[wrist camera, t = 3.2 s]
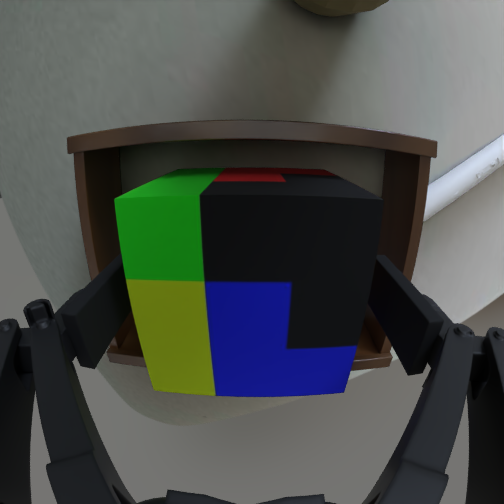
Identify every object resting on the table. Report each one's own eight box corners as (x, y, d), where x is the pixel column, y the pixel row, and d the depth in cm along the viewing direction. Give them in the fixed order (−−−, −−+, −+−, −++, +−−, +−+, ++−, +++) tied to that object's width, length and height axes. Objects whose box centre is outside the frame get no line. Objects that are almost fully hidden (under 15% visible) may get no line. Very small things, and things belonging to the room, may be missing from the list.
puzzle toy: (313, 298, 23) (344, 392, 14) (187, 297, 23) (154, 390, 14) (324, 169, 19) (384, 199, 10) (178, 169, 19) (114, 198, 10)
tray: (132, 321, 24) (109, 362, 19) (108, 134, 18) (66, 137, 13) (368, 325, 24) (389, 366, 19) (396, 137, 18) (437, 141, 13)
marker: (522, 116, 16) (538, 117, 14) (527, 135, 17) (543, 138, 15) (398, 198, 20) (412, 206, 18) (407, 221, 21) (422, 231, 18)
